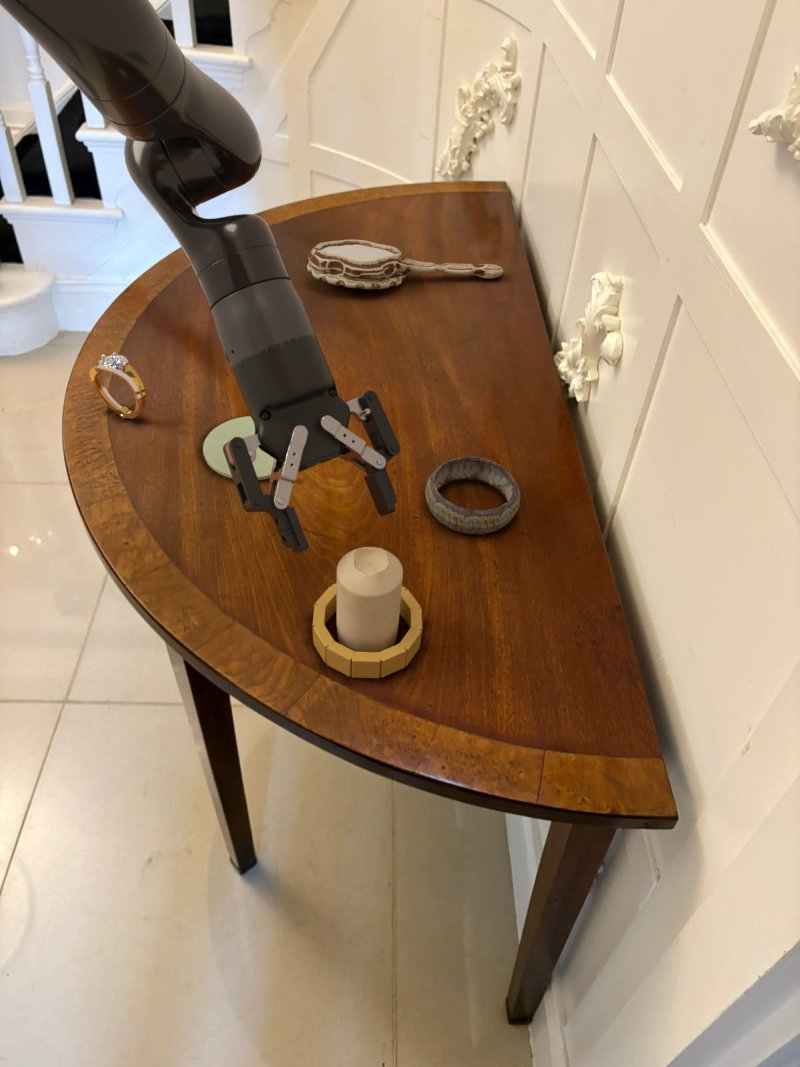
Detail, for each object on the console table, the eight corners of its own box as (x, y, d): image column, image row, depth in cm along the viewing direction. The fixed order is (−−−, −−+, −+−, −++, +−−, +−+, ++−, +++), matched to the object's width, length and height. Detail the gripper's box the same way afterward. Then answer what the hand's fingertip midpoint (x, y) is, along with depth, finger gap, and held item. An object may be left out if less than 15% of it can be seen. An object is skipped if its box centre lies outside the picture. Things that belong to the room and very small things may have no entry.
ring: (156, 420, 91) (144, 361, 86) (135, 434, 89) (122, 374, 84) (114, 398, 94) (100, 340, 88) (93, 411, 92) (77, 352, 86)
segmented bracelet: (344, 694, 67) (344, 677, 65) (296, 616, 72) (295, 598, 70) (439, 652, 70) (442, 635, 68) (387, 580, 76) (388, 562, 74)
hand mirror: (516, 280, 115) (313, 269, 108) (504, 311, 120) (309, 303, 113) (500, 233, 121) (306, 221, 114) (489, 265, 126) (302, 255, 119)
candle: (323, 633, 71) (322, 558, 64) (366, 600, 74) (369, 525, 67) (367, 669, 68) (370, 595, 61) (409, 634, 71) (417, 559, 64)
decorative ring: (534, 527, 82) (493, 467, 89) (539, 504, 80) (498, 445, 86) (445, 548, 79) (410, 485, 86) (448, 525, 77) (412, 462, 84)
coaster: (224, 492, 83) (224, 489, 83) (189, 434, 90) (188, 431, 90) (318, 463, 88) (318, 459, 87) (278, 409, 94) (278, 406, 94)
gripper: (202, 361, 58) (286, 563, 60) (363, 312, 64) (435, 497, 66) (182, 385, 65) (258, 566, 66) (330, 339, 71) (396, 506, 73)
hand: (346, 531), depth 66 cm, fingers open, 8 cm apart
